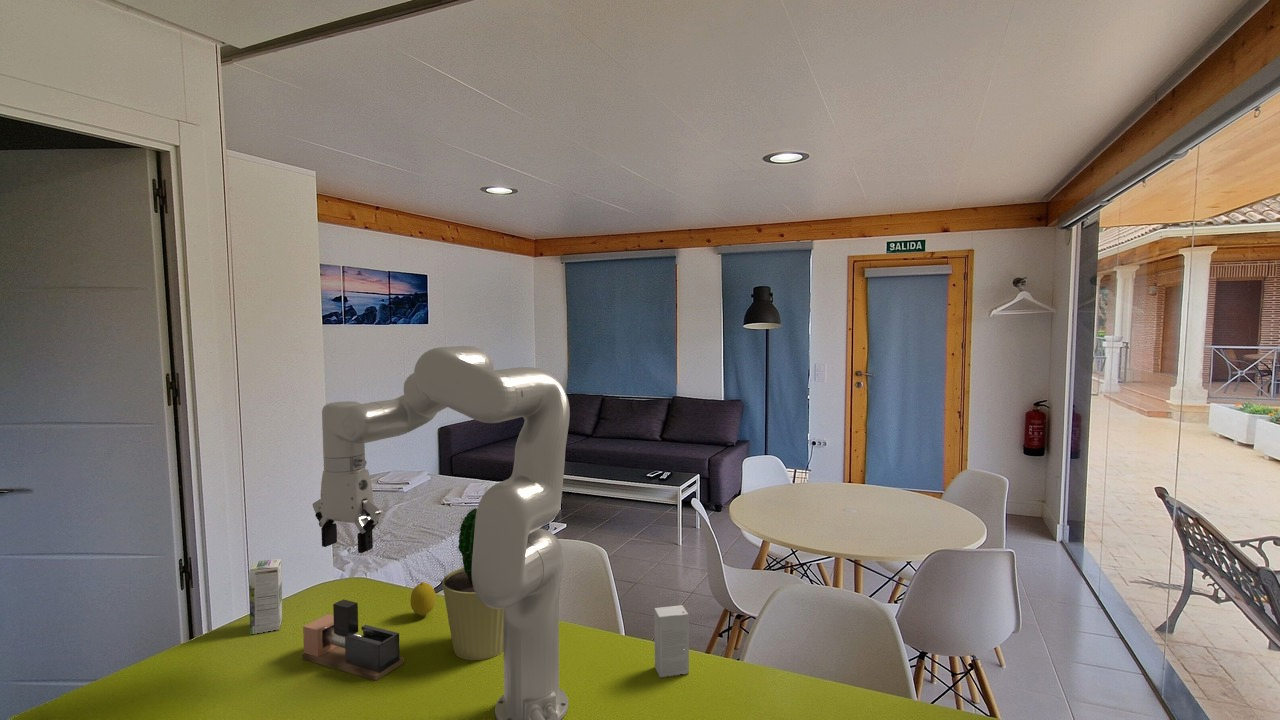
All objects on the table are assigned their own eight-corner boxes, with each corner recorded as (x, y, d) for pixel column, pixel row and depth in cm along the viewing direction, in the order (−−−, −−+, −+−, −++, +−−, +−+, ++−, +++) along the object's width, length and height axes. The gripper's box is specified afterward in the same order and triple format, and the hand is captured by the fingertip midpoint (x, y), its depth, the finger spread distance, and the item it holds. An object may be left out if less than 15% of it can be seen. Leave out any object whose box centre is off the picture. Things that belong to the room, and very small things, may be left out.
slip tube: (366, 647, 126) (365, 603, 126) (354, 654, 123) (352, 609, 123) (326, 636, 130) (325, 594, 130) (313, 643, 128) (312, 600, 127)
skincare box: (683, 663, 125) (683, 604, 124) (689, 674, 121) (689, 614, 120) (653, 666, 123) (653, 607, 123) (658, 678, 119) (658, 617, 119)
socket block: (342, 642, 131) (342, 617, 130) (318, 656, 125) (317, 630, 125) (329, 639, 132) (328, 613, 132) (303, 652, 127) (303, 626, 126)
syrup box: (253, 624, 141) (251, 561, 140) (283, 619, 143) (281, 557, 143) (249, 635, 136) (247, 570, 135) (281, 630, 138) (279, 566, 138)
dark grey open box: (399, 660, 124) (399, 633, 124) (380, 673, 119) (379, 644, 119) (365, 650, 127) (365, 624, 127) (345, 663, 123) (344, 635, 123)
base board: (403, 662, 125) (403, 657, 125) (376, 680, 118) (376, 675, 118) (331, 642, 133) (331, 638, 133) (301, 658, 126) (301, 653, 126)
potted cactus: (475, 674, 120) (473, 521, 119) (427, 650, 130) (425, 507, 128) (534, 642, 133) (532, 503, 131) (487, 622, 142) (485, 491, 140)
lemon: (428, 622, 142) (427, 588, 141) (405, 620, 143) (405, 586, 142) (440, 611, 147) (439, 578, 147) (419, 609, 148) (418, 576, 148)
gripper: (392, 463, 125) (394, 547, 126) (328, 457, 132) (331, 537, 133) (362, 471, 118) (364, 560, 119) (297, 464, 125) (300, 548, 126)
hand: (347, 547), depth 126 cm, fingers open, 9 cm apart
